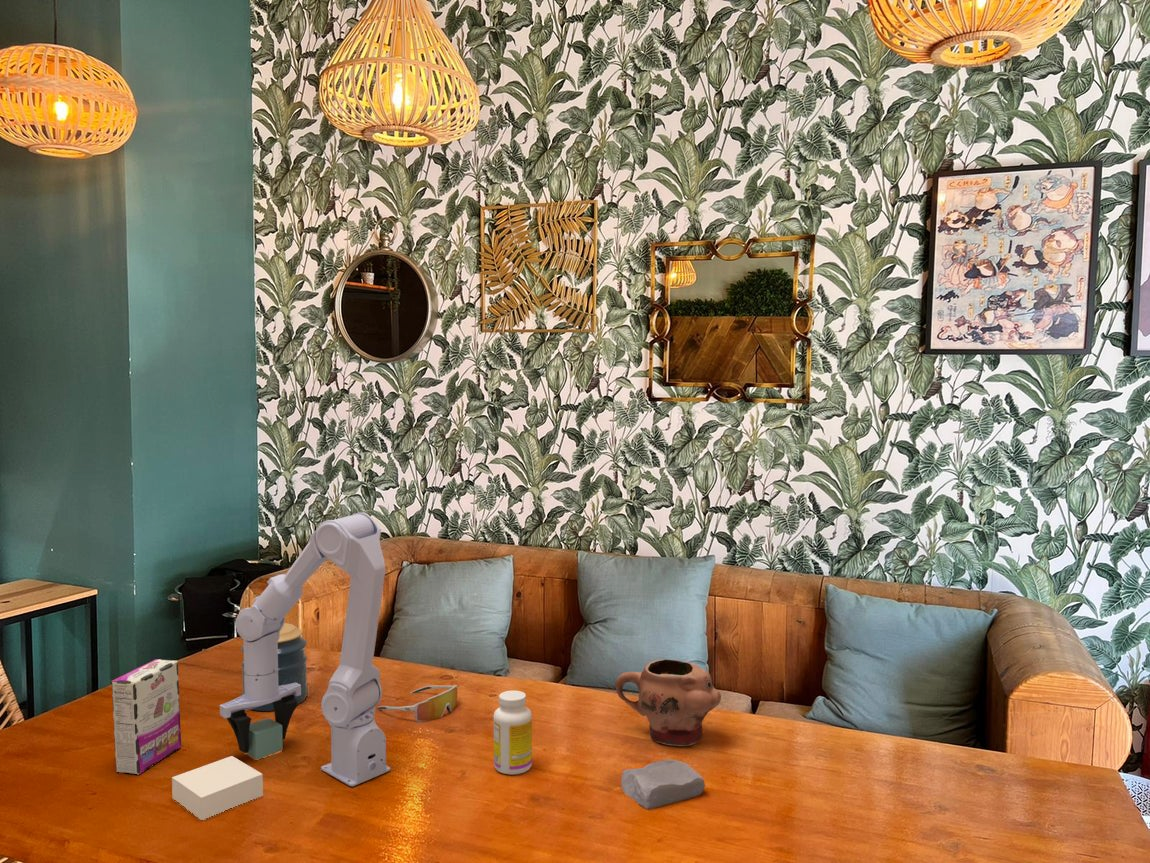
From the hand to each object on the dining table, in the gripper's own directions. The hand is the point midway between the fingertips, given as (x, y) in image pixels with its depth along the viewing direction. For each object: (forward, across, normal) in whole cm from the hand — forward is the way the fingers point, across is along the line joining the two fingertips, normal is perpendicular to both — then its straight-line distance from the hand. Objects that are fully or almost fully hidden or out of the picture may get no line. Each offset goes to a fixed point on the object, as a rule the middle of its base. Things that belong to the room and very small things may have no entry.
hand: (262, 744), depth 149 cm
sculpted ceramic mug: (+2, -54, +51) cm, 74 cm away
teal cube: (+2, 0, 0) cm, 2 cm away
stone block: (+2, -37, +62) cm, 72 cm away
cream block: (+2, +13, +10) cm, 16 cm away
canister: (+2, -14, -21) cm, 25 cm away
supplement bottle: (+2, -26, +38) cm, 46 cm away
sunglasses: (+2, -32, +5) cm, 32 cm away
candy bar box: (+2, +15, -12) cm, 19 cm away
